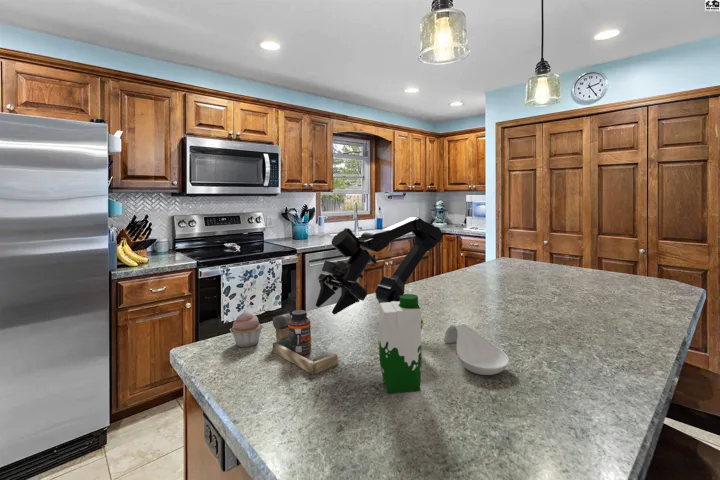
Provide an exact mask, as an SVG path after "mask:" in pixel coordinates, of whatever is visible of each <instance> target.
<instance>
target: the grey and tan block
mask: <svg viewBox="0 0 720 480" xmlns="http://www.w3.org/2000/svg"><path fill="white" fill-rule="evenodd" d="M291 319H292V314H290V311H286V313H284V314H279V315H276V316H273V317H272V325H273V328H274V329H275V338H276V341H275V342H278V341H281V340H284V339H288V338H289V321H290V320H291Z"/></svg>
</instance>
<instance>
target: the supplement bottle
mask: <svg viewBox="0 0 720 480" xmlns="http://www.w3.org/2000/svg"><path fill="white" fill-rule="evenodd" d="M307 316H308V314H307V311H306V310H304V309H300V310H299V309H298V310H293V311H292V312H291V317H292V319H291V320H290V321H289V348H288V349H290V350H292V351H294V352H296V353H297V354H299V355H301V356H304V355H308V354H309V353H310V352H311V351H312V334H311V333H312V330H311V325H312V324H311V320H310V318H308V317H307Z"/></svg>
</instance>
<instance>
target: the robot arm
mask: <svg viewBox="0 0 720 480" xmlns="http://www.w3.org/2000/svg"><path fill="white" fill-rule="evenodd" d="M410 233H411V234H413V235H414V243H413V245H412V247H411V248H410V249H409V250H408V252H407V254H406V256H405V257H404V258H403V259H402V261H401V263H400V264H399V266H397V268H396V270H395V271H394V272H393V274H392V275H391V276H390V277H389V276H383V277H382V278H381V280H380V282H378V284H376V289H375V298H376V300H377V301H378V304H379V305H380V303H386V302H391V301H396V302H397V301H400V296H401V295H404V294H405V288H406V287H405V285H406V283H407V282H408V280H409V279H410V277H411V276H412V274H413V273H414V272H415V270H416V268H417V267H418V265H419V264H420V262H421V261H422V259H423V258H424V256H425V255H426V253H427V252H429V251H430V250H433V248H435V247H436V246H437V245H438V244H439V243H440V242H441V240H442V237H443V232H442V230H441V228H440V227H439V226H435V225H433V224H431V223H429V222H427V221H425V220H423V219H422V218H421V217H415V216H414V217H413V216H411V217H408V218H406V219H405V220H402V221H399V222H398V223H394V224H393V225H390V226H388V227H385V228H384V229H378V230H371V231H365V232H362V234H361V235H360V236H356V235H355V233H353V231H352V229H350V228H347V227H345V228H344V229H343V230H342V231H340V232H338V233H337V234H335V235H334V236H333V238H332V239H331V245H332V246H333V247H334V248H335V249H336V250H337V251H338V252H339V253H340V254H341V255H342V256H343V257H344V258H348V257H349V258H348V259H347V260H346V261H345V262H344V261H341V260H338V261H336V262H334V261H330V260H326V259H325V260H324V262H323V265H322V268H321V271H322V272H323V273H320V274H319V276H318V277H317V280H318V283H319V285H320V286H319V287H320V290H319V292H318V293H319V294H318V297H317V299H316V303H315V306H316V308H319V307H321V306H322V305H323V304H325V303H326V302H327V301H328V300H329V299H330V298H332V297H333V296H334V295H335V294H336V291H338V290H339V289H340V290H341V294H340V296H339V298H338V300H337V302H336V304H335V305H334V307H333V309H332V311H331V313H332V314H333V315H337V314H338V313H341V312H342V311H343V310H345V309H347V308H349V307H351V306H353V305H354V304H356V303H360V302H361V301H362V302H364V301H365V300H366V298H367V296H368V294H367V293H368V291H367V290H366V289H365V288H364V287H363V286H362V285H361V284H360V283H359V282H357V281H358V280H359V279H360V280H361V279H363V277H364V275H363V272H364V271H365V270H366V268H367V266H368V265H369V264H374V265H376V264H377V259H376V255H375V254H373V253H370V252H375V253H379V252H381V251H383V250H384V249H386V248H387V247H388V246H389V244H390V243H392V241H395V240H397V239H398V238H401V237H403V236H405V235H408V234H410ZM369 251H370V252H369Z"/></svg>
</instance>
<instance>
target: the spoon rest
mask: <svg viewBox="0 0 720 480" xmlns="http://www.w3.org/2000/svg"><path fill="white" fill-rule="evenodd" d="M443 343H445V344H454V343H456V347H455V348H456V355H457V358H458V360H459V362H460V364H461V365H462V366H463V367H464V368H465V369H466V370H467V371H469V372H471V373H473V374H476V375H481V376H482V375H483V376H493V375H496V374H499V373H501V372H503V371H505V370H506V368H508V366H509V364H510V359H509V356H508V355H507V354H506V353H505V352H504V350H502V349H501V348H499V347H498V346H496V345H495V344H494V343H492V342H491V341H489V340H488V339H487V338H485V337H484V336H482V335H481V334H480V333H478V332H477V331H476V330H475V329H473V328H472V327H470V326H469V325H466V324H462V323H461V324H458V325H455V324H452V325H450V326H449V327H448V328H447V329H446V331H445V333H444V339H443Z"/></svg>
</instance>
